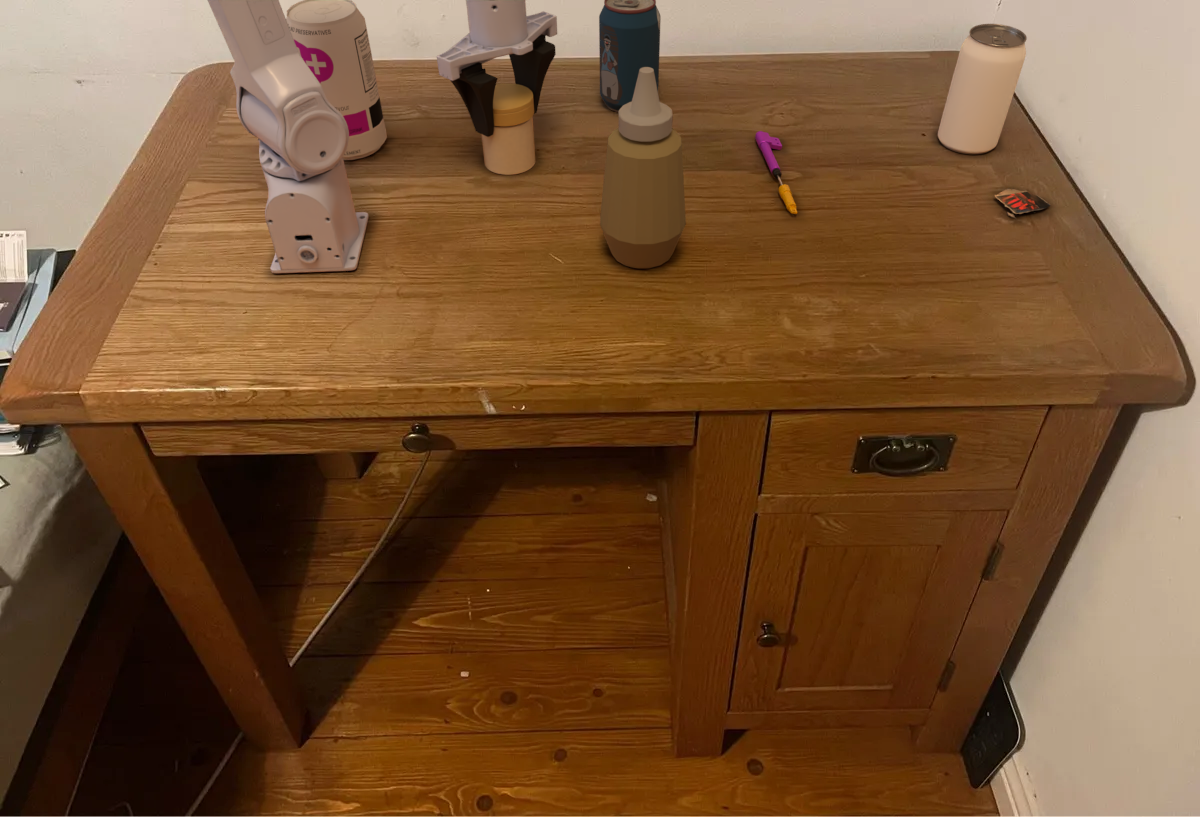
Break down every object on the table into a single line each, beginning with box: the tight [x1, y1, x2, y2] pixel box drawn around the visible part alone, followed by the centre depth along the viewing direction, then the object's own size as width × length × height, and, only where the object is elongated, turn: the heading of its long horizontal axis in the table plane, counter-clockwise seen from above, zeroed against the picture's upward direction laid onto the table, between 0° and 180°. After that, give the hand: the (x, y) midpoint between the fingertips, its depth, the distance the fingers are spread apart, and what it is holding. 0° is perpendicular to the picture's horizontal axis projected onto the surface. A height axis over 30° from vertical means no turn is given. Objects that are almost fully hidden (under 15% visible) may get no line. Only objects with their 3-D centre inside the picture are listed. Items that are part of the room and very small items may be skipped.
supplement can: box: [285, 0, 388, 161], centre depth 98 cm, size 8×8×15 cm
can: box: [937, 23, 1028, 156], centre depth 98 cm, size 6×6×12 cm
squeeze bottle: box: [599, 67, 687, 269], centre depth 81 cm, size 8×8×18 cm
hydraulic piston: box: [754, 130, 798, 215], centre depth 97 cm, size 3×1×16 cm
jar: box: [480, 115, 537, 176], centre depth 98 cm, size 6×6×7 cm
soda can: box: [598, 0, 662, 114], centre depth 106 cm, size 7×7×12 cm
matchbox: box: [993, 188, 1051, 220], centre depth 93 cm, size 5×5×1 cm
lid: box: [493, 82, 535, 126], centre depth 95 cm, size 6×6×2 cm
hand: (506, 121), depth 97 cm, fingers closed on lid, 6 cm apart
